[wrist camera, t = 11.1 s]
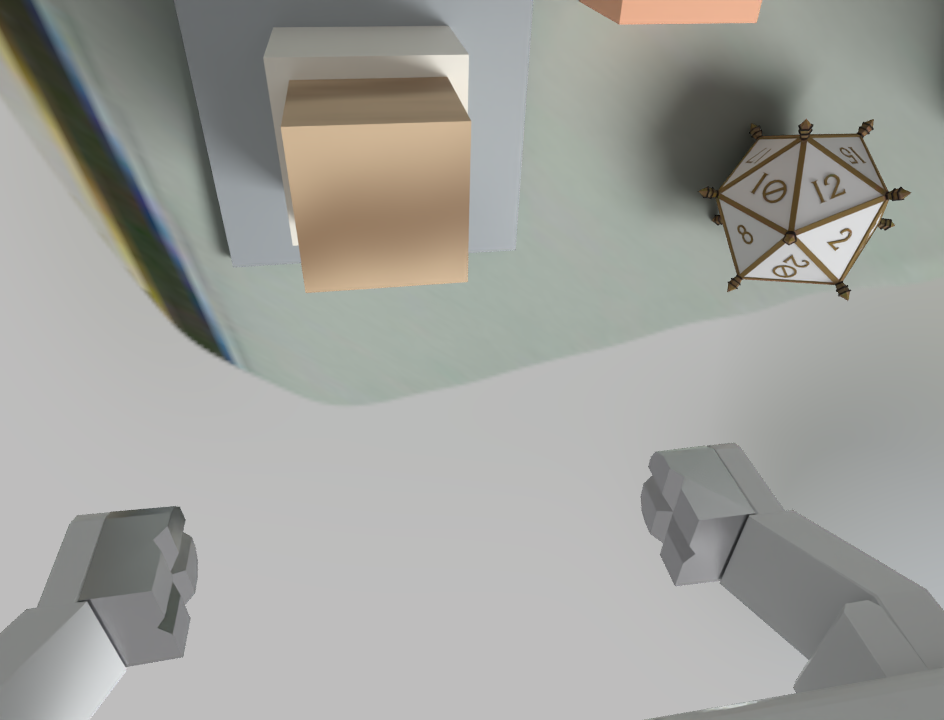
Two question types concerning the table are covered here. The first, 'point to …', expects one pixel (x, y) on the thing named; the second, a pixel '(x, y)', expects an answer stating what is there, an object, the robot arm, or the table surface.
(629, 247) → the table surface
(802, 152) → the game die
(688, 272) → the table surface
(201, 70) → the baseplate
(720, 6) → the terracotta brick
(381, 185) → the oak brick
